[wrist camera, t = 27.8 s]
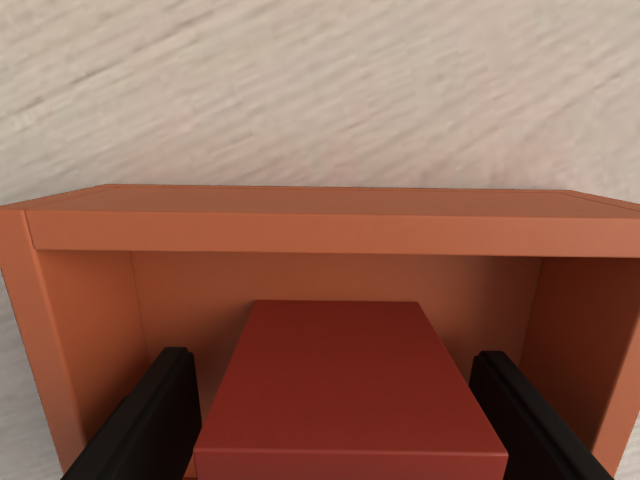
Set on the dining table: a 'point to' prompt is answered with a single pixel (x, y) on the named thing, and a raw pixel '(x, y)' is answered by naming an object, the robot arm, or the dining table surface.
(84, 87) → the dining table surface
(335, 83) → the dining table surface
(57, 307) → the terracotta tray
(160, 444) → the robot arm
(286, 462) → the red block
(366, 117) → the dining table surface
